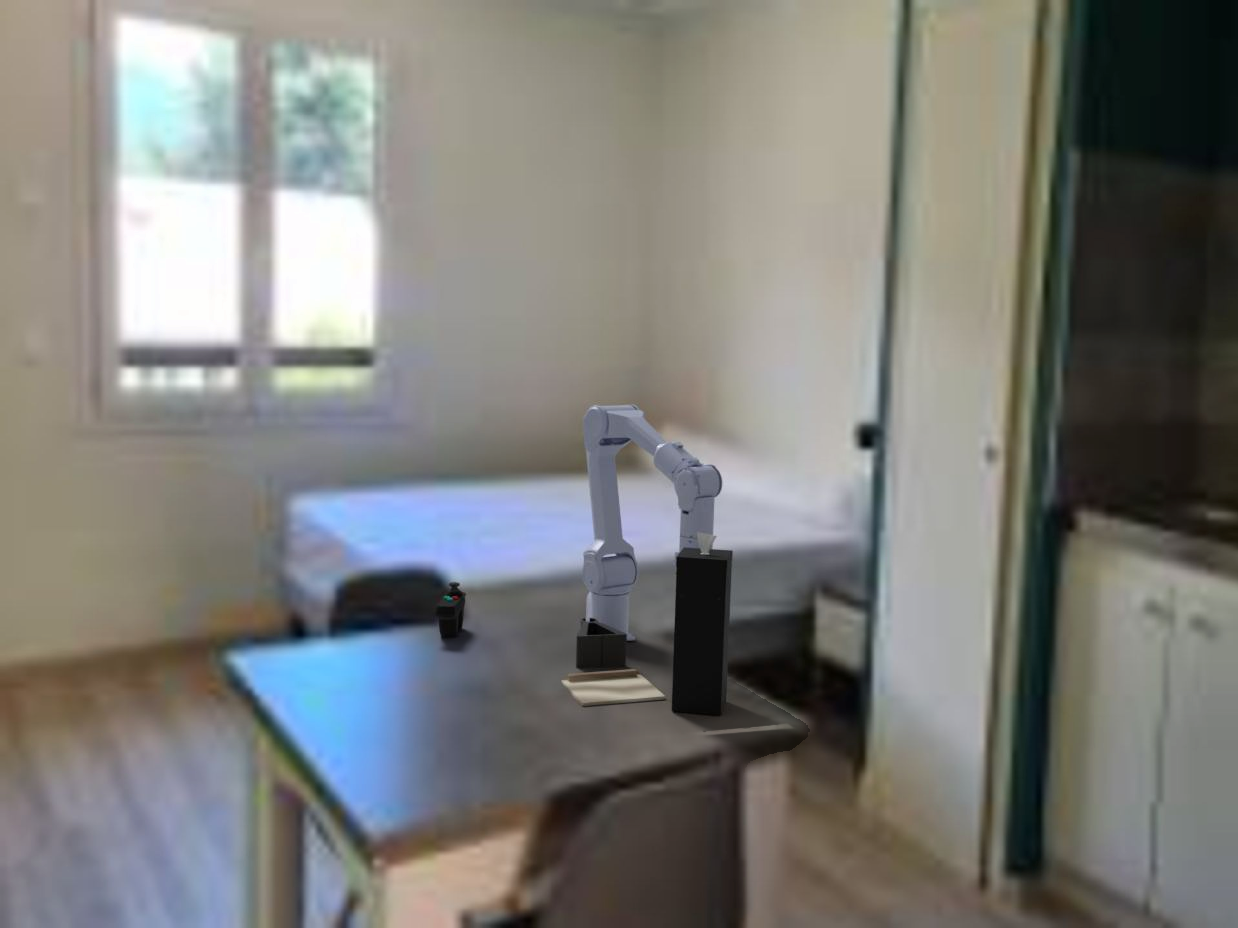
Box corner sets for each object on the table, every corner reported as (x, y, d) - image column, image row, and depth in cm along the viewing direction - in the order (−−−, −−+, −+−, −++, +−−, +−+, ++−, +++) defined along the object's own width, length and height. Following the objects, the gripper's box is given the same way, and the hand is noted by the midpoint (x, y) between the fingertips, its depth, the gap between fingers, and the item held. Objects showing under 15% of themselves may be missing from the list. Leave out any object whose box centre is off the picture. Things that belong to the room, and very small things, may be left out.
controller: (467, 631, 227) (468, 580, 226) (455, 648, 215) (456, 595, 213) (445, 630, 227) (445, 579, 226) (432, 648, 215) (432, 594, 214)
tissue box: (721, 716, 182) (728, 538, 178) (670, 712, 184) (676, 535, 180) (726, 700, 190) (733, 530, 186) (678, 696, 191) (684, 526, 188)
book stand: (561, 682, 196) (561, 674, 196) (640, 677, 201) (640, 668, 201) (582, 706, 185) (582, 696, 185) (665, 699, 190) (665, 690, 189)
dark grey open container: (626, 667, 206) (610, 648, 218) (627, 633, 205) (610, 616, 217) (576, 669, 204) (562, 650, 216) (576, 636, 203) (563, 618, 215)
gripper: (659, 528, 208) (657, 603, 210) (690, 544, 194) (687, 624, 196) (696, 527, 210) (694, 601, 212) (729, 542, 197) (726, 621, 198)
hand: (693, 612), depth 204 cm, fingers closed
